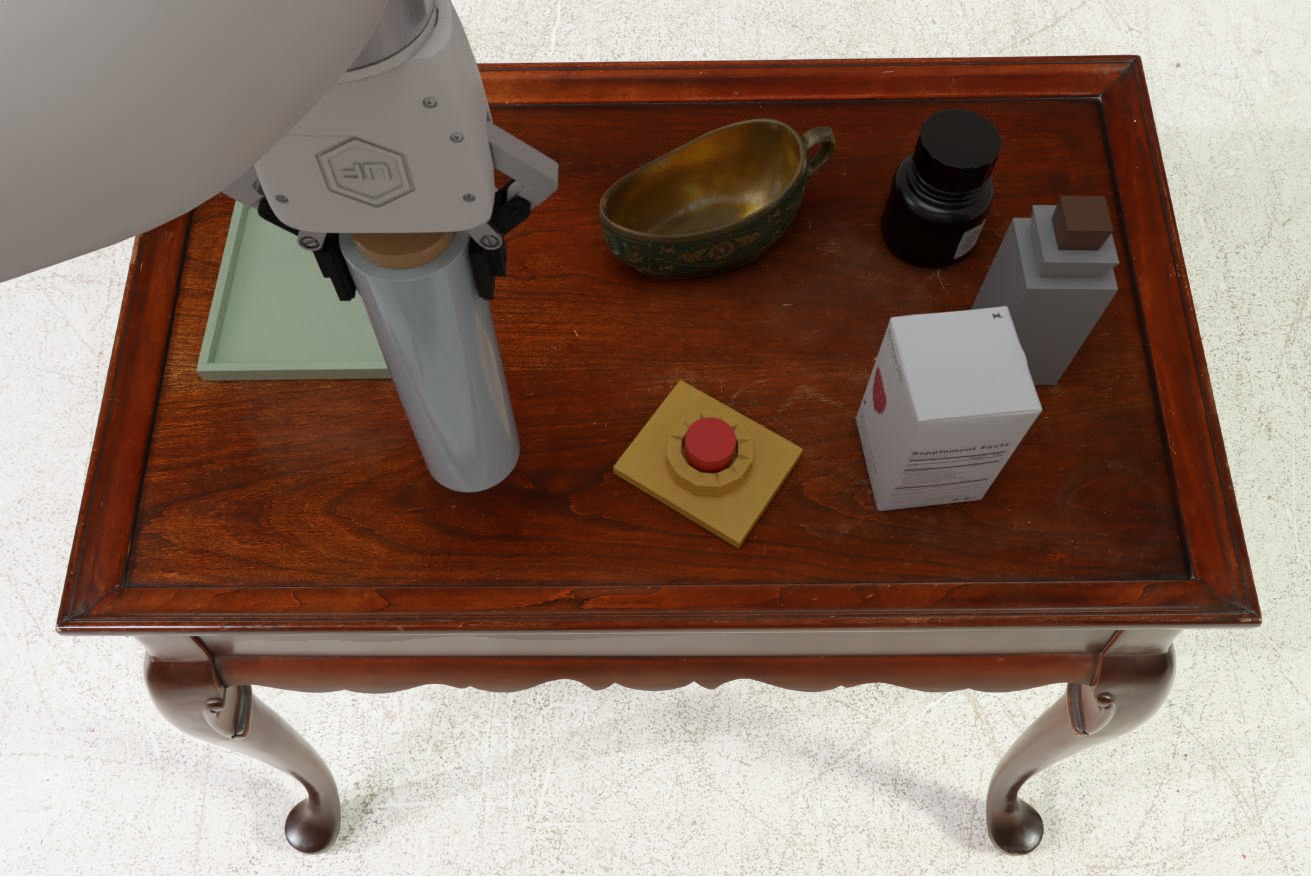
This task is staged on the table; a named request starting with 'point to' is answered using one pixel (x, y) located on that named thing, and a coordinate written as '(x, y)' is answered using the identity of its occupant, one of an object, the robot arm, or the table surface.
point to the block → (703, 496)
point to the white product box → (944, 407)
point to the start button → (710, 444)
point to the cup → (712, 199)
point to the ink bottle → (942, 189)
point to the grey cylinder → (438, 351)
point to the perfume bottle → (1054, 280)
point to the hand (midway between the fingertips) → (419, 277)
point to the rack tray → (282, 313)
